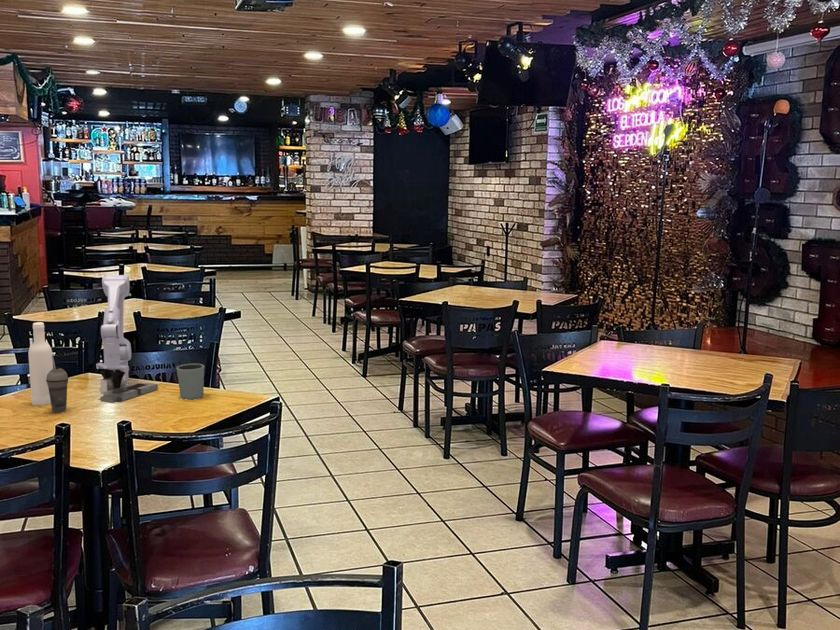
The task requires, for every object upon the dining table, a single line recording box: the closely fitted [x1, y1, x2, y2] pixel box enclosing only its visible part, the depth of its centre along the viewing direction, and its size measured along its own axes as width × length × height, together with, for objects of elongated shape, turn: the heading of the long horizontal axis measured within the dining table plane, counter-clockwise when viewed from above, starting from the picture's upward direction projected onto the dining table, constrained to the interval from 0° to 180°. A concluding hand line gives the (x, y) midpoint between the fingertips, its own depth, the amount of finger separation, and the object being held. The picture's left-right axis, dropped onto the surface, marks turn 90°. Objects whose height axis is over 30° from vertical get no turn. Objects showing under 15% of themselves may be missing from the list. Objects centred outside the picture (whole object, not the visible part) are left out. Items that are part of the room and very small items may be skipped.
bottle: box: [27, 321, 54, 406], centre depth 291 cm, size 8×8×30 cm
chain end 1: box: [99, 388, 138, 404], centre depth 299 cm, size 9×11×2 cm
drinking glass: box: [175, 363, 205, 401], centre depth 303 cm, size 10×10×12 cm
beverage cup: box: [46, 355, 69, 414], centre depth 282 cm, size 7×7×20 cm
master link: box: [99, 375, 127, 395], centre depth 309 cm, size 3×10×6 cm, turn 157°
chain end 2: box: [123, 381, 159, 396], centre depth 311 cm, size 9×11×2 cm
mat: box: [97, 388, 160, 403], centre depth 306 cm, size 11×21×1 cm, turn 157°
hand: (113, 388), depth 310 cm, fingers closed on master link, 3 cm apart
